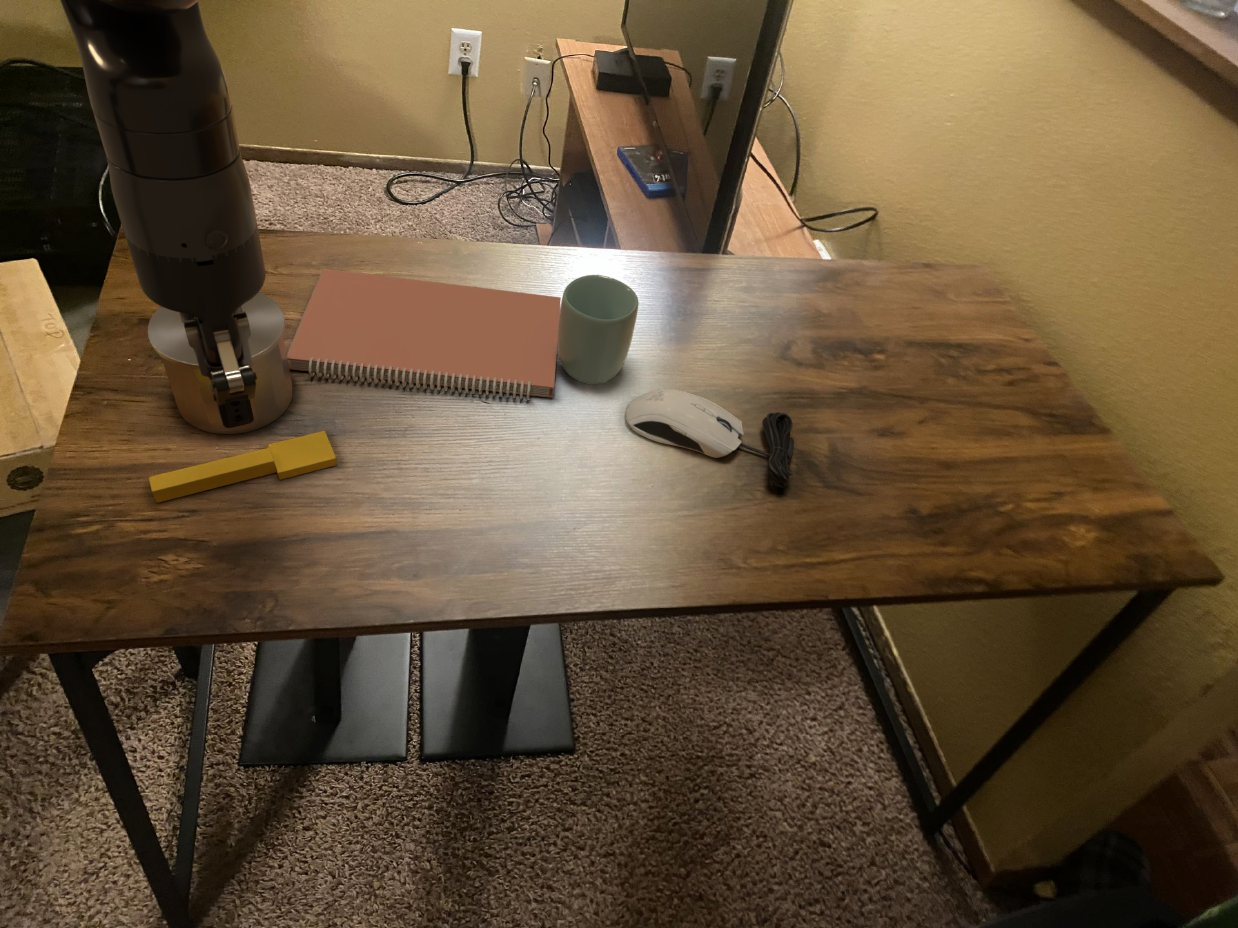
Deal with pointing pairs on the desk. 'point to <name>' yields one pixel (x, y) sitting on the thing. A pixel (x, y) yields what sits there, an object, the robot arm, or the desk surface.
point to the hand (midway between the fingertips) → (237, 419)
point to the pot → (266, 405)
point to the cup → (596, 327)
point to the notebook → (428, 334)
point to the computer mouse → (708, 428)
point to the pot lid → (176, 349)
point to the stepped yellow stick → (248, 467)
